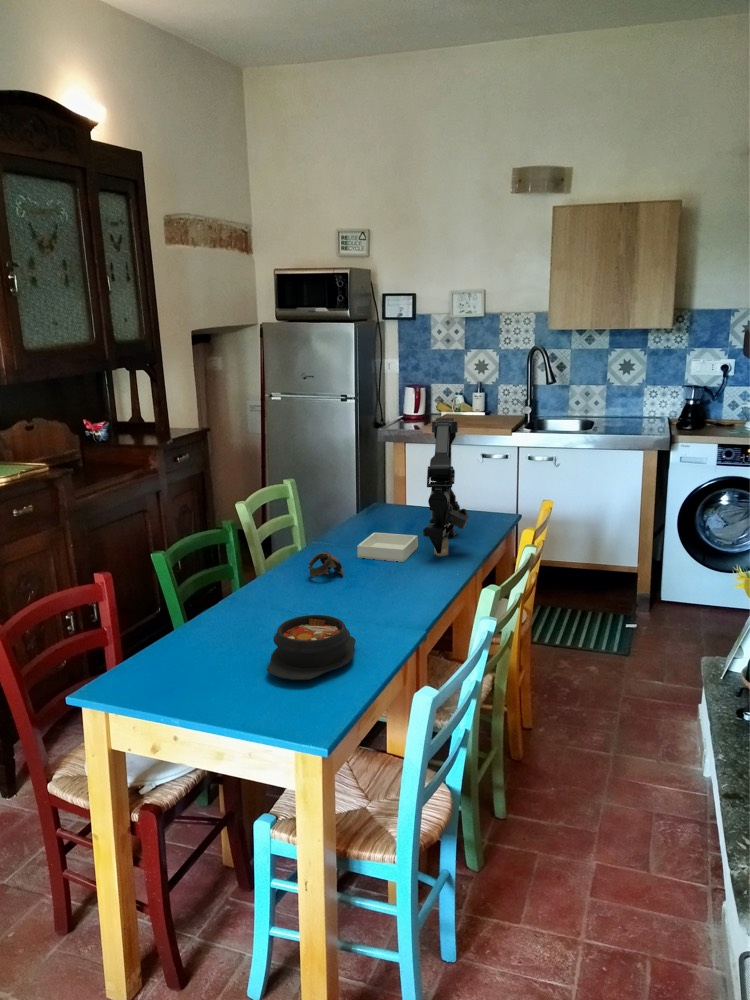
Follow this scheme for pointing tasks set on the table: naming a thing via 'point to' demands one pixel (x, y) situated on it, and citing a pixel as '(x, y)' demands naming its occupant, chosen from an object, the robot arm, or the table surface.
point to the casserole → (310, 647)
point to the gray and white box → (387, 547)
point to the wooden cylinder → (443, 548)
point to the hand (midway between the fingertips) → (441, 551)
